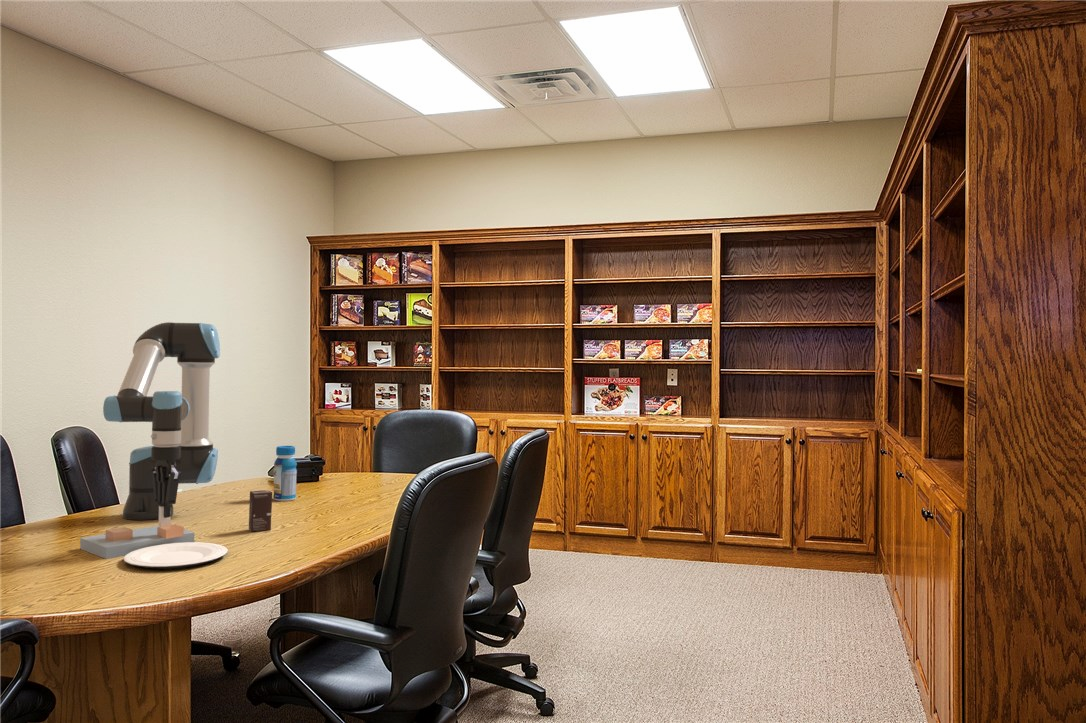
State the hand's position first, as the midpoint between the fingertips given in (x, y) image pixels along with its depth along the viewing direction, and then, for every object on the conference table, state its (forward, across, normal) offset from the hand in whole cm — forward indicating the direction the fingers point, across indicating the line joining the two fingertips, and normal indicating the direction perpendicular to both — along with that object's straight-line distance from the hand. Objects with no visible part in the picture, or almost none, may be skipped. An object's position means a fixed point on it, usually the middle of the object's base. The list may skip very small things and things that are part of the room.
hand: (164, 528), depth 220 cm
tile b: (+2, -4, -11) cm, 11 cm away
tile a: (+2, +3, 0) cm, 4 cm away
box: (+5, +2, +29) cm, 29 cm away
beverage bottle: (+5, -37, +64) cm, 74 cm away
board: (+5, -4, -5) cm, 8 cm away
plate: (+5, +18, -5) cm, 19 cm away
